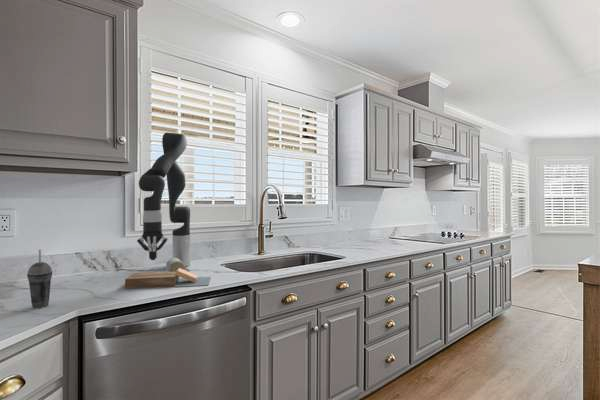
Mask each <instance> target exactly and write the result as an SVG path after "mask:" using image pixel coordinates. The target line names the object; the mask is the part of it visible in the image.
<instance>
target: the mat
mask: <svg viewBox="0 0 600 400" xmlns="http://www.w3.org/2000/svg"><path fill="white" fill-rule="evenodd" d="M210 282H211V276H199V277H198V276H197V278H196V281H195V283H194V282H192V281H189V280H187V279H184V278H182V277H179V280H178V282H177V283H176V285H175V286H173V287H174V288H186V287H187V288H189V287H204V286H205V287H207V286H209V284H210Z"/></svg>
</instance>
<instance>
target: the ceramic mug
mask: <svg viewBox="0 0 600 400" xmlns="http://www.w3.org/2000/svg"><path fill="white" fill-rule="evenodd" d="M165 268H166V271H167V272H171V271H177V270H178V269H179V268H181V269H183V270H186V271H188V272H191V270H190V269H189V268H187V267H186V266H184V264H183V262H182V261H180V260H179V259H178V258H173V257H172V258H170V259H168V260H167V261H166V264H165Z"/></svg>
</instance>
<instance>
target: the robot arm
mask: <svg viewBox="0 0 600 400" xmlns="http://www.w3.org/2000/svg"><path fill="white" fill-rule="evenodd" d="M161 139H162V140H161V141H162V142H161V143H162V150H163V154H162V155H161V156H159V157H158V158H156V160H155V161H154V163H153V165H152V166H151V168H150V169H148V170H147V171H145V173H143V174H142V175H141V177H139V180H138V186H139V189H140V190H141V191H143V192H153V193H152V195H150V196H147V197H144V198H143V213H142V214H143V216H142V225H143V227H142V228H143V229H142V231H143V233H142V235H141V237H140V238H138V239H137V240H136V242H137V243H138V244H139V246H141V247H142V249H143V250H144V251H147V252H148V257H149V259H150V261H155V260H156V259H157V258H158V256H157V251H160V250H161V249H162V247H164V245H165V244H166V243H167V242H168V240H169V239H168V238H167V237H165V236H164V234H163V232H162V231H163V230H162V229H163V228H162V227H163V226H162V224H163V223H162V221H163V219H162V197H163V193H164V191H165V186H166V184H167V192H168V209H169V213H168V214H169V220H170V222H171V223H172V224H183V225H181V226H180V227H178V228H176V229H173V230H172V258H178V259H179V260H180V261H182V262H183V264H184V266H185V267H189V266H190V265H191V229H190V227H191V226H190V225H191V224H190V223H191V209H190V207H189V206H186V205H185V206H180V205H179V206H178V205H177V206H176V204H177V201H178V199H179V198H180V196H181V194H182V193H183V192H184V191H185V188H186V174H185V172H184V170H183V168H182V167H181V165H180V164H179V163H178V162H177V160H178V159H179V158H180V156H181V155H183V153H184V152H185V150H186V149H187V145H188V139H187V136H186V135H185V134H182V133H177V132H176V133H175V132H165V133H163V135H162V138H161ZM165 177H166V183H165V179H164V178H165ZM160 241H161V243H160V244H159V242H160ZM145 242H146V243H145ZM158 244H159V245H158Z"/></svg>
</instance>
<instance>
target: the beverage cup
mask: <svg viewBox="0 0 600 400" xmlns="http://www.w3.org/2000/svg"><path fill="white" fill-rule="evenodd" d="M41 254H42V250H41V249H38V262H35V263H34V264H32V265H31V266H30V267H29V268H28V270H27V275H26V276H27V280H28V285H29V286H28V287H29V292H30V293H29V294H30V302H31V306H32V307H33V308H38V309H43V308H42V307H44V308H47V307H49V304H50V303H49V302H50V294H51V284H52V283H51V282H52V277H53V269H52V267H51V265H50V264H48V263H47V262H44V261H43V262H42V259H41V258H42V255H41ZM46 306H47V307H46ZM32 307H31V308H32ZM33 308H32V309H33Z"/></svg>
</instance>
